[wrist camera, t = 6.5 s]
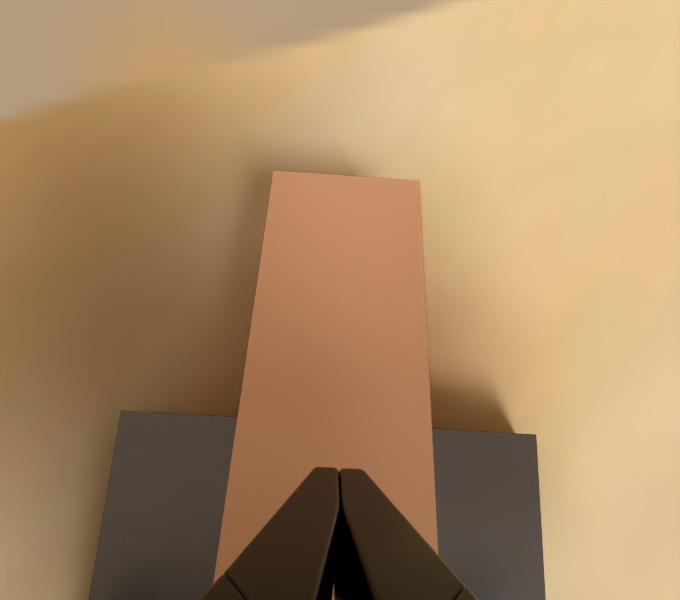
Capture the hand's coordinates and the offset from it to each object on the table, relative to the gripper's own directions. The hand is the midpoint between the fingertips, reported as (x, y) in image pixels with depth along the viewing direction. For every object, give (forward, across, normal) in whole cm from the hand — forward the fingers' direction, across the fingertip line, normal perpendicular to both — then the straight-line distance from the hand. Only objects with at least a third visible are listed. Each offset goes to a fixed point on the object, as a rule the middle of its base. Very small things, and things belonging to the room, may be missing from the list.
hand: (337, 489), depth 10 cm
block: (0, 0, -5) cm, 5 cm away
